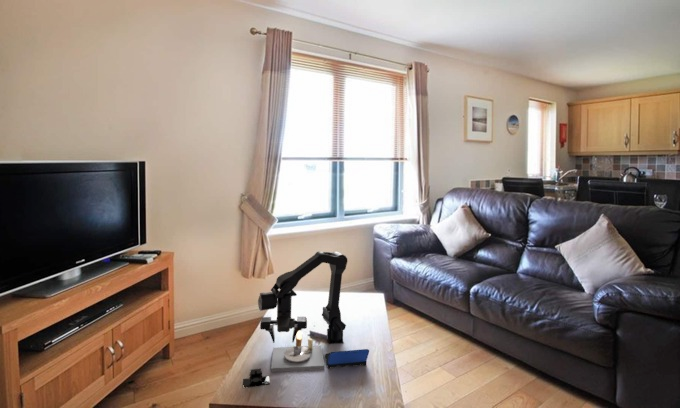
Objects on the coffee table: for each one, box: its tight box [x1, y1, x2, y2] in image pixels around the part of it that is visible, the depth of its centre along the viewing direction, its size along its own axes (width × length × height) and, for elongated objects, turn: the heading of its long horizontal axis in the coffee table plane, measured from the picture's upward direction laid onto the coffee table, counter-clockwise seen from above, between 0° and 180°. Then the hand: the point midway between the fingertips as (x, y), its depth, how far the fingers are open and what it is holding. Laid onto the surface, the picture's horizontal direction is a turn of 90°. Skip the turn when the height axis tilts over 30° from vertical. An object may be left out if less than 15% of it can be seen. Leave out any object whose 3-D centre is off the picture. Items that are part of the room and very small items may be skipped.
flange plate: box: [284, 331, 311, 363], centre depth 148 cm, size 14×14×5 cm
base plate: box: [270, 338, 325, 373], centre depth 146 cm, size 20×15×6 cm
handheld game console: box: [324, 348, 370, 369], centre depth 144 cm, size 16×13×9 cm
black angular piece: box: [242, 368, 271, 389], centre depth 132 cm, size 12×7×5 cm, turn 104°
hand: (283, 342), depth 152 cm, fingers open, 7 cm apart
